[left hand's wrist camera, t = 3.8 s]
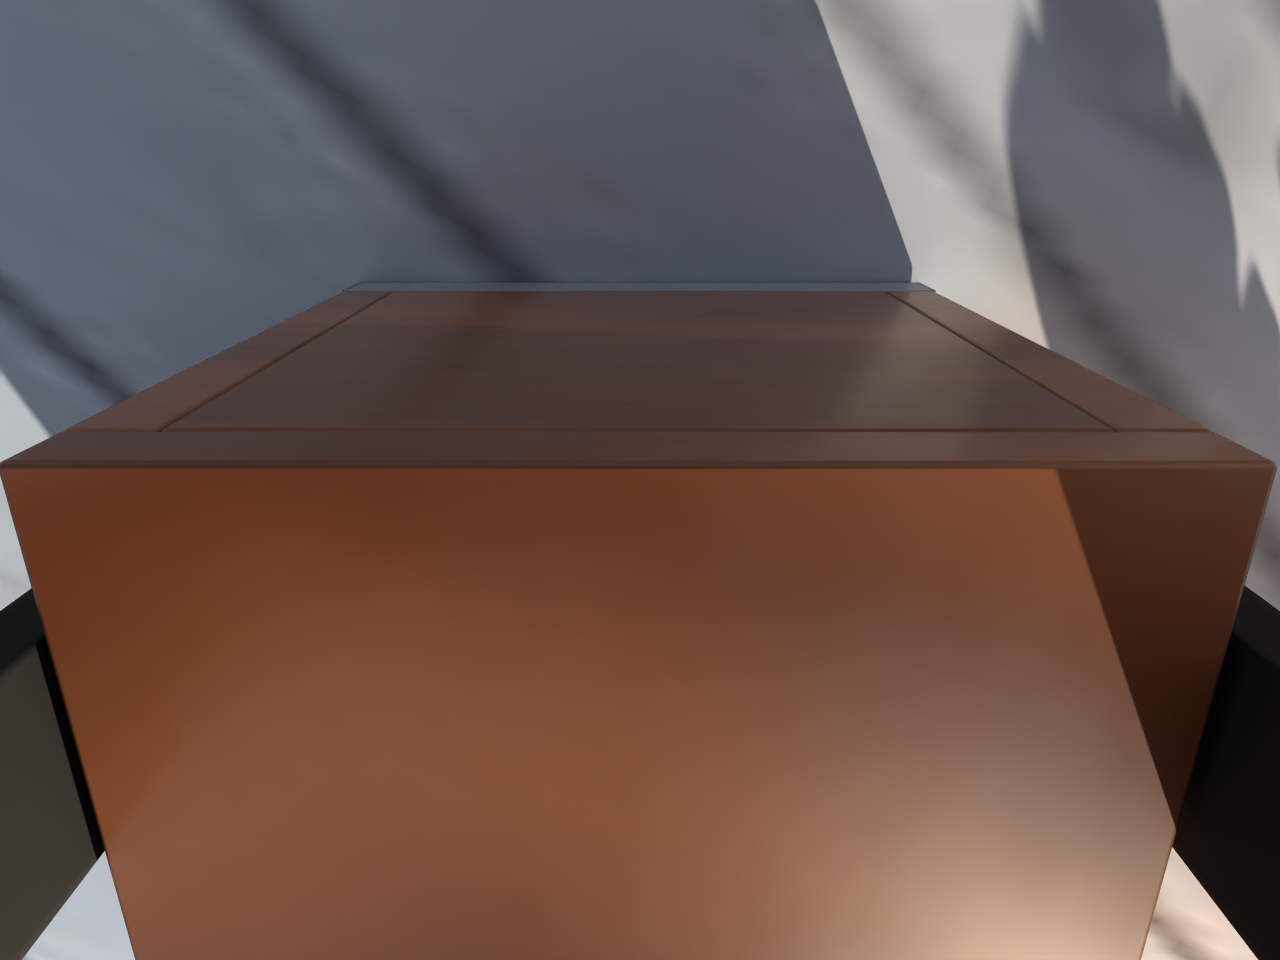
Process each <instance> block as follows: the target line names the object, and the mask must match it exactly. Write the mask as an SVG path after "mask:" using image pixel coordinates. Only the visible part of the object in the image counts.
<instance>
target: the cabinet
mask: <svg viewBox="0 0 1280 960" xmlns="http://www.w3.org/2000/svg"><path fill="white" fill-rule="evenodd" d="M1275 473H1276V464H1275V463H1274V462H1273V461H1271V460H1269V459H1267V458H1265V457H1263V456H1261V455H1259V454H1257V453H1255V452H1253V451H1251V450H1249V449H1247V448H1245V447H1243V446H1241V445H1239V444H1237V443H1235V442H1233V441H1231V440H1229V439H1227V438H1225V437H1223V436H1221V435H1219V434H1216V433H1214V432H1210V430H1209V429H1207V428H1205V427H1203V426H1201V425H1199V424H1197V423H1195V422H1193V421H1191V420H1189V419H1187V418H1185V417H1183V416H1181V415H1179V414H1177V413H1175V412H1173V411H1171V410H1169V409H1167V408H1165V407H1163V406H1161V405H1159V404H1157V403H1155V402H1153V401H1151V400H1149V399H1147V398H1145V397H1143V396H1141V395H1139V394H1137V393H1135V392H1133V391H1131V390H1129V389H1127V388H1125V387H1123V386H1121V385H1119V384H1117V383H1115V382H1113V381H1111V380H1109V379H1107V378H1105V377H1103V376H1101V375H1099V374H1097V373H1095V372H1093V371H1091V370H1089V369H1087V368H1085V367H1083V366H1081V365H1079V364H1077V363H1075V362H1073V361H1071V360H1069V359H1067V358H1065V357H1063V356H1061V355H1059V354H1057V353H1055V352H1053V351H1051V350H1049V349H1047V348H1045V347H1043V346H1041V345H1039V344H1037V343H1035V342H1033V341H1031V340H1029V339H1027V338H1025V337H1023V336H1021V335H1019V334H1017V333H1015V332H1013V331H1011V330H1009V329H1007V328H1005V327H1003V326H1001V325H999V324H997V323H995V322H993V321H991V320H989V319H987V318H985V317H983V316H981V315H979V314H977V313H975V312H973V311H971V310H969V309H967V308H965V307H963V306H961V305H959V304H957V303H955V302H953V301H951V300H949V299H947V298H945V297H943V296H941V295H939V294H937V293H936V291H935V290H933V289H931V288H929V287H927V286H925V285H923V284H921V283H357V284H355V285H353V286H351V287H349V288H347V289H345V290H343V292H342V293H340V294H338V295H336V296H334V297H332V298H330V299H328V300H326V301H324V302H322V303H320V304H318V305H316V306H314V307H312V308H310V309H308V310H306V311H304V312H302V313H300V314H298V315H296V316H294V317H292V318H290V319H288V320H286V321H284V322H282V323H280V324H278V325H276V326H274V327H272V328H270V329H268V330H266V331H264V332H262V333H260V334H258V335H256V336H254V337H251V338H249V339H247V340H245V341H243V342H241V343H239V344H237V345H235V346H233V347H231V348H229V349H227V350H225V351H223V352H221V353H219V354H217V355H215V356H213V357H211V358H209V359H207V360H205V361H203V362H201V363H199V364H197V365H195V366H193V367H191V368H189V369H187V370H185V371H183V372H181V373H179V374H177V375H175V376H173V377H171V378H169V379H167V380H165V381H163V382H161V383H159V384H156V385H154V386H152V387H150V388H148V389H146V390H144V391H142V392H140V393H138V394H136V395H134V396H132V397H130V398H128V399H126V400H124V401H122V402H120V403H118V404H116V405H114V406H112V407H110V408H108V409H106V410H104V411H102V412H100V413H98V414H96V415H94V416H92V417H90V418H88V419H86V420H84V421H82V422H80V423H78V424H76V425H74V426H72V427H70V428H68V429H66V430H65V431H64V432H61V433H59V434H56V435H54V436H52V437H50V438H48V439H46V440H44V441H42V442H40V443H38V444H36V445H34V446H32V447H30V448H28V449H26V450H24V451H22V452H20V453H18V454H16V455H14V456H12V457H10V458H8V459H6V460H4V461H2V462H1V463H0V476H1V479H2V483H3V487H4V490H5V494H6V497H7V501H8V504H9V508H10V512H11V515H12V519H13V522H14V526H15V530H16V533H17V537H18V540H19V544H20V548H21V551H22V555H23V558H24V562H25V565H26V569H27V573H28V576H29V580H30V583H31V587H32V591H33V594H34V598H35V601H36V605H37V608H38V612H39V616H40V619H41V623H42V626H43V630H44V634H45V637H46V641H47V644H48V648H49V651H50V655H51V659H52V662H53V666H54V669H55V673H56V677H57V680H58V684H59V687H60V691H61V695H62V698H63V702H64V705H65V709H66V712H67V716H68V720H69V723H70V727H71V730H72V734H73V738H74V741H75V745H76V748H77V752H78V755H79V759H80V763H81V766H82V770H83V773H84V777H85V781H86V784H87V788H88V791H89V795H90V799H91V802H92V806H93V809H94V813H95V816H96V820H97V824H98V827H99V831H100V834H101V838H102V842H103V845H104V849H105V852H106V856H107V859H108V863H109V867H110V870H111V874H112V877H113V881H114V885H115V888H116V892H117V895H118V899H119V902H120V906H121V910H122V913H123V917H124V920H125V924H126V928H127V931H128V935H129V938H130V942H131V946H132V949H133V953H134V956H135V960H1141V957H1142V953H1143V950H1144V946H1145V943H1146V939H1147V935H1148V932H1149V928H1150V924H1151V921H1152V917H1153V914H1154V910H1155V906H1156V903H1157V899H1158V896H1159V892H1160V888H1161V885H1162V881H1163V877H1164V874H1165V870H1166V867H1167V863H1168V859H1169V856H1170V852H1171V849H1172V845H1173V841H1174V838H1175V834H1176V830H1177V827H1178V823H1179V820H1180V816H1181V812H1182V809H1183V805H1184V802H1185V798H1186V794H1187V791H1188V787H1189V784H1190V780H1191V776H1192V773H1193V769H1194V765H1195V762H1196V758H1197V755H1198V751H1199V747H1200V744H1201V740H1202V737H1203V733H1204V729H1205V726H1206V722H1207V718H1208V715H1209V711H1210V708H1211V704H1212V700H1213V697H1214V693H1215V690H1216V686H1217V682H1218V679H1219V675H1220V671H1221V668H1222V664H1223V661H1224V657H1225V653H1226V650H1227V646H1228V643H1229V639H1230V635H1231V632H1232V628H1233V624H1234V621H1235V617H1236V614H1237V610H1238V606H1239V603H1240V599H1241V596H1242V592H1243V588H1244V585H1245V581H1246V578H1247V574H1248V570H1249V567H1250V563H1251V559H1252V556H1253V552H1254V549H1255V545H1256V541H1257V538H1258V534H1259V531H1260V527H1261V523H1262V520H1263V516H1264V512H1265V509H1266V505H1267V502H1268V498H1269V494H1270V491H1271V487H1272V484H1273V480H1274V476H1275Z"/></svg>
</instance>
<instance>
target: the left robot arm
mask: <svg viewBox="0 0 1280 960" xmlns="http://www.w3.org/2000/svg"><path fill="white" fill-rule="evenodd" d="M1172 847H1173V848H1174V850H1175V851H1176V852H1177V853H1178V855H1179V856H1180V857H1181V859H1182V860H1183V861H1184V863H1185V864H1186V865H1187V867H1188V868H1189V869H1190V871H1191V872H1192V873H1193V875H1194V876H1195V877H1196V878H1197V880H1198V881H1199V882H1200V884H1201V885H1202V886H1203V888H1204V889H1205V890H1206V892H1207V893H1208V894H1209V896H1210V897H1211V898H1212V899H1213V901H1214V902H1215V903H1216V905H1217V906H1218V907H1219V909H1220V910H1221V911H1222V913H1223V914H1224V915H1225V917H1226V918H1227V919H1228V921H1229V922H1230V923H1231V924H1232V926H1233V927H1234V928H1235V930H1236V931H1237V932H1238V934H1239V935H1240V936H1241V938H1242V939H1243V940H1244V942H1245V943H1246V944H1247V945H1248V947H1249V948H1250V949H1251V951H1252V952H1253V953H1254V955H1255V956H1256V957H1257V959H1258V960H1280V611H1279V610H1277V609H1276V608H1275V607H1273V606H1272V605H1271V604H1269V603H1268V602H1266V601H1265V600H1264V599H1262V598H1261V597H1260V596H1258V595H1257V594H1255V593H1254V592H1253V591H1251V590H1250V589H1248V588H1247V587H1246V586H1244V588H1243V592H1242V596H1241V599H1240V603H1239V606H1238V610H1237V614H1236V617H1235V621H1234V624H1233V628H1232V632H1231V635H1230V639H1229V643H1228V646H1227V650H1226V653H1225V657H1224V661H1223V664H1222V668H1221V671H1220V675H1219V679H1218V682H1217V686H1216V690H1215V693H1214V697H1213V700H1212V704H1211V708H1210V711H1209V715H1208V718H1207V722H1206V726H1205V729H1204V733H1203V737H1202V740H1201V744H1200V747H1199V751H1198V755H1197V758H1196V762H1195V765H1194V769H1193V773H1192V776H1191V780H1190V784H1189V787H1188V791H1187V794H1186V798H1185V802H1184V805H1183V809H1182V812H1181V816H1180V820H1179V823H1178V827H1177V830H1176V834H1175V838H1174V841H1173V845H1172ZM104 851H105V849H104V845H103V842H102V838H101V834H100V831H99V827H98V824H97V820H96V816H95V813H94V809H93V806H92V802H91V799H90V795H89V791H88V788H87V784H86V781H85V777H84V773H83V770H82V766H81V763H80V759H79V755H78V752H77V748H76V745H75V741H74V738H73V734H72V730H71V727H70V723H69V720H68V716H67V712H66V709H65V705H64V702H63V698H62V695H61V691H60V687H59V684H58V680H57V677H56V673H55V669H54V666H53V662H52V659H51V655H50V651H49V648H48V644H47V641H46V637H45V634H44V630H43V626H42V623H41V619H40V616H39V612H38V608H37V605H36V601H35V598H34V594H33V591H32V589H30V590H29V591H27V592H26V593H25V594H23V595H22V596H20V597H19V598H18V599H16V600H15V601H14V602H12V603H11V604H9V605H8V606H7V607H5V608H4V609H3V610H1V611H0V960H22V959H23V957H24V956H25V955H26V953H27V952H28V951H29V949H30V948H31V947H32V945H33V944H34V943H35V942H36V940H37V939H38V938H39V936H40V935H41V934H42V932H43V931H44V930H45V928H46V927H47V926H48V924H49V923H50V922H51V921H52V919H53V918H54V917H55V915H56V914H57V913H58V911H59V910H60V909H61V907H62V906H63V905H64V903H65V902H66V901H67V900H68V898H69V897H70V896H71V894H72V893H73V892H74V890H75V889H76V888H77V886H78V885H79V884H80V882H81V881H82V880H83V878H84V877H85V876H86V875H87V873H88V872H89V871H90V869H91V868H92V867H93V865H94V864H95V863H96V861H97V860H98V859H99V857H100V856H101V855H102V854H103V852H104Z"/></svg>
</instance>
